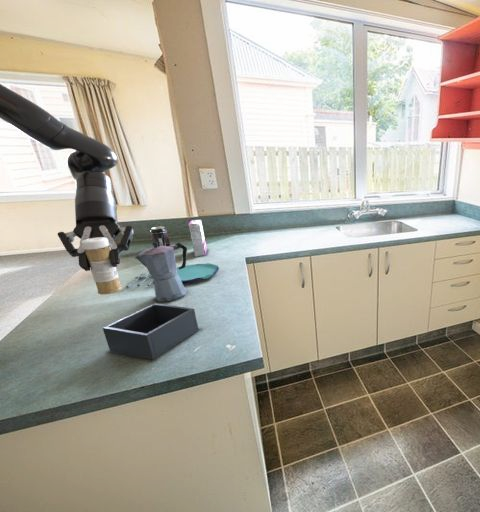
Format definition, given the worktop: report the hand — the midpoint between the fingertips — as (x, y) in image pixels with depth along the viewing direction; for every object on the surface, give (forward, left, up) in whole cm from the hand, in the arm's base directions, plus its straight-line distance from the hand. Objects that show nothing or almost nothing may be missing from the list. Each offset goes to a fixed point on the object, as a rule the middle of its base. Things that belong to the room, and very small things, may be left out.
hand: (100, 267), depth 69 cm
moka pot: (+27, +15, -22) cm, 38 cm away
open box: (+4, -5, -22) cm, 23 cm away
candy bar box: (+71, +45, -22) cm, 87 cm away
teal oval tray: (+42, +27, -22) cm, 55 cm away
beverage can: (+71, +69, -22) cm, 102 cm away
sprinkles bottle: (+1, +1, -7) cm, 8 cm away
